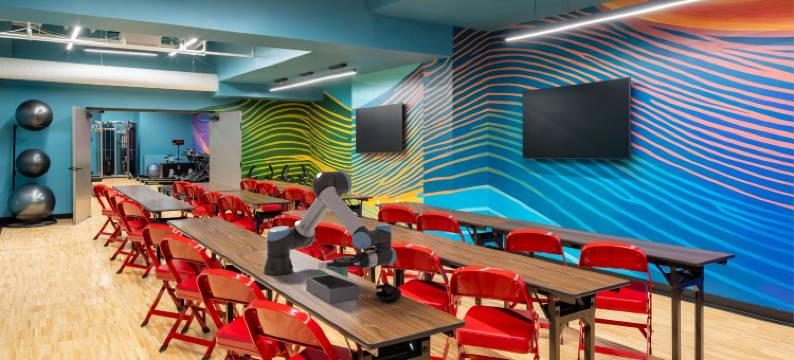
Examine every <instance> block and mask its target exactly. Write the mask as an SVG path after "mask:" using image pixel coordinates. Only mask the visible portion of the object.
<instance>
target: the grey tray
mask: <svg viewBox="0 0 794 360" xmlns="http://www.w3.org/2000/svg"><path fill="white" fill-rule="evenodd" d="M305 279H306V280H305V283H306V285H305V286H306V287H305V290H306V292H308V293H311V294H312V295H314V296H315V297H317V298H318V299H320V300H322V301H324V302H326V303H328V305H331V304H338V303H339V304H340V303H344V302H349V301H356V300H360V284H359V285H358V284H355V283H352V282H349V281H346V280H343V279H341V278H338V277H335V276H332V275H330V274H329V275H321V276H318V275H317V276H316V275H315V276H309V277H307V276H306V278H305Z"/></svg>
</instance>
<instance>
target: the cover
mask: <svg viewBox="0 0 794 360" xmlns="http://www.w3.org/2000/svg"><path fill="white" fill-rule="evenodd" d="M308 265H309V266H311V267H313V268H316V269H317V270H318V269H319V270H321V271H324V272H326V273H328V274H330V275H332V276H335V277H338V278H341V279H343V280H346V281H349V282H352V283H355V284H357V285H359V286H360V284H361V283H360V282H358V281H356V280H354V279H351V278H349V277H348V278H347V277H345V276H343V275H340V274H338V273H336V272H334V271H331V270H328V269H325V268H321V269H320V268H319V266H318V264H317V265H316V264H313V263H311V262H308Z"/></svg>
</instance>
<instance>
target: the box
mask: <svg viewBox="0 0 794 360" xmlns="http://www.w3.org/2000/svg"><path fill="white" fill-rule="evenodd" d="M317 266H319V264H317ZM325 269H328V270H331V271H334V272H336V273H338V274H340V275H343V276H345V277H347V278H349V267H341V268H337V267H334V266H333V267H329V268H325ZM321 275H329V274H328V273H326V272H324V271H321V270H319V269H317V276H321Z"/></svg>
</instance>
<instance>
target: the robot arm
mask: <svg viewBox="0 0 794 360" xmlns="http://www.w3.org/2000/svg"><path fill="white" fill-rule="evenodd" d="M352 188H353V182H352V178H351V176H350V175H349V173H348V172H346V171H342V170H337V171H336V170H335V171H320V172H318V173H317V174H316V175H315V176H314V177H313V179H312V181H311V189H312V192H313V194H314V196H315V199H314V201H312V203H311V204H310V206H309V207H308V209H307V211H306V212H305V213H304V215H303V216H302V218H301V219H300V220H297V221H296V222H295V223H294V225H293V226H292V227H290V226H286V225H281V226H274V227H272V228H269V229H268V230H267V232H266V235H267V236H266V252H267V253H266V260H265V263H264V266H263V274H265V275H270V276H282V275H283V276H284V275H289V274H292V273H294V266H293V262H292V258H291V251H292V250H298V249H305V248H307V247H310V246H311V245H312V244H313V243H314V240H315V228H316V227H317V226H318V224H319V223H320V222H321V220H322V219H323V218H324V216H325V214H326V213H327V212H328V210H330V212H331V213H332V214H333V215H334V216H335V218H336V219H337V220H338V222H340V224H341V225H342V226H343V227H344V228H345V229H346V230H347V232H348V233H349V235H351V237H352V239H351V240H352V245H353V246H354V248H356V249H357V250H365V251H358V252H356V253H355V254H354V255H355V256H354V255H349V256H347V255H344V256H340V257H339V256H338V257H335V258H331V259H330V260H324V261H318V265H319V268H320V269H321V268H329V267H333V266H334V267H337V268H341V267H348V268H350V267H351V268H352V267H354V268H355V267H356V268H358V269H366V268H370V269H372V268H374V267H379V266H388V265H392V264H394V263H395V262H397V261H396V260H397V252H396V250H395V248H393V247H392V234H393V233H392V226H391V224H389V223H378V224H376V225H375V228H374V229H372V230H369V229H368V227H366V225H365V224H364V222H362V221H361V219H359V218H358V216H357V215H356V213H354V212H353V210H352V209H351V208H350V207H349V206H348V204H346V202H345V201H344V200H343V199H342V196H343V195H347V194H348V193H350V191H351V190H352ZM374 247H375V249H374V250H371V249H370V250H366V249H369V248H374Z"/></svg>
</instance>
